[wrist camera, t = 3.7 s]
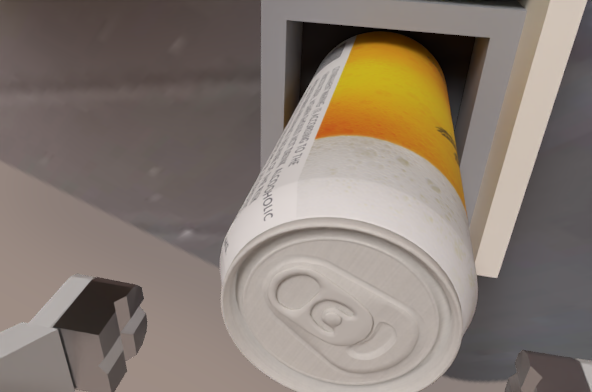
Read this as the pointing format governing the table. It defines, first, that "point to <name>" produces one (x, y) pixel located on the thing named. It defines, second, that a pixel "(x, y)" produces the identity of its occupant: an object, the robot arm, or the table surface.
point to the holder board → (476, 96)
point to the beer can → (356, 231)
